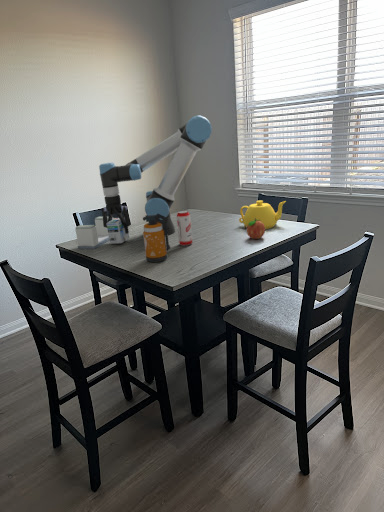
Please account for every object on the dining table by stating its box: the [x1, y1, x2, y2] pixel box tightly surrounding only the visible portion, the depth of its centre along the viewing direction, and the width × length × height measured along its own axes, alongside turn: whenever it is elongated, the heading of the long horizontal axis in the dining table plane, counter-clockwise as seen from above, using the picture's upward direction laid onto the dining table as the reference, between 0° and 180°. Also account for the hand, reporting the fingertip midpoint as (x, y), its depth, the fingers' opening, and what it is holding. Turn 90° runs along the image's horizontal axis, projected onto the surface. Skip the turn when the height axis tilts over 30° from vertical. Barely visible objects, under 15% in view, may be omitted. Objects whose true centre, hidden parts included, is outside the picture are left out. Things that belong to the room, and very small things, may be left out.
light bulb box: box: [106, 217, 130, 244], centre depth 197 cm, size 11×7×11 cm, turn 168°
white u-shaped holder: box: [74, 215, 115, 250], centre depth 204 cm, size 10×23×11 cm, turn 163°
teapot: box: [238, 200, 287, 230], centre depth 205 cm, size 25×18×14 cm
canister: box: [142, 214, 171, 263], centre depth 166 cm, size 9×11×20 cm
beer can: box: [176, 210, 193, 247], centre depth 185 cm, size 6×6×16 cm
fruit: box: [246, 218, 266, 240], centre depth 185 cm, size 9×10×10 cm
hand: (119, 239), depth 199 cm, fingers closed on light bulb box, 7 cm apart
